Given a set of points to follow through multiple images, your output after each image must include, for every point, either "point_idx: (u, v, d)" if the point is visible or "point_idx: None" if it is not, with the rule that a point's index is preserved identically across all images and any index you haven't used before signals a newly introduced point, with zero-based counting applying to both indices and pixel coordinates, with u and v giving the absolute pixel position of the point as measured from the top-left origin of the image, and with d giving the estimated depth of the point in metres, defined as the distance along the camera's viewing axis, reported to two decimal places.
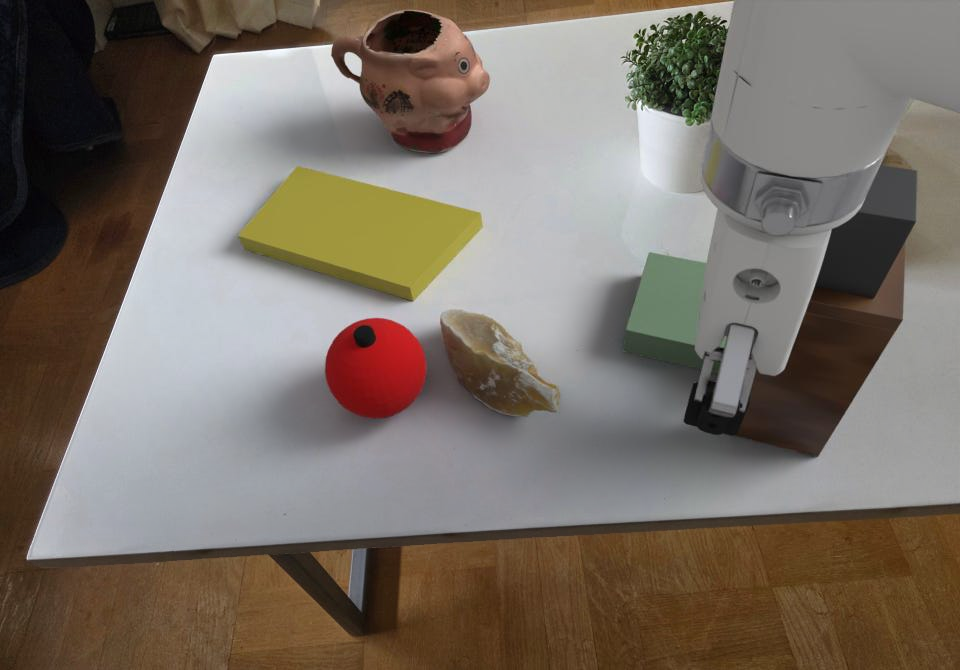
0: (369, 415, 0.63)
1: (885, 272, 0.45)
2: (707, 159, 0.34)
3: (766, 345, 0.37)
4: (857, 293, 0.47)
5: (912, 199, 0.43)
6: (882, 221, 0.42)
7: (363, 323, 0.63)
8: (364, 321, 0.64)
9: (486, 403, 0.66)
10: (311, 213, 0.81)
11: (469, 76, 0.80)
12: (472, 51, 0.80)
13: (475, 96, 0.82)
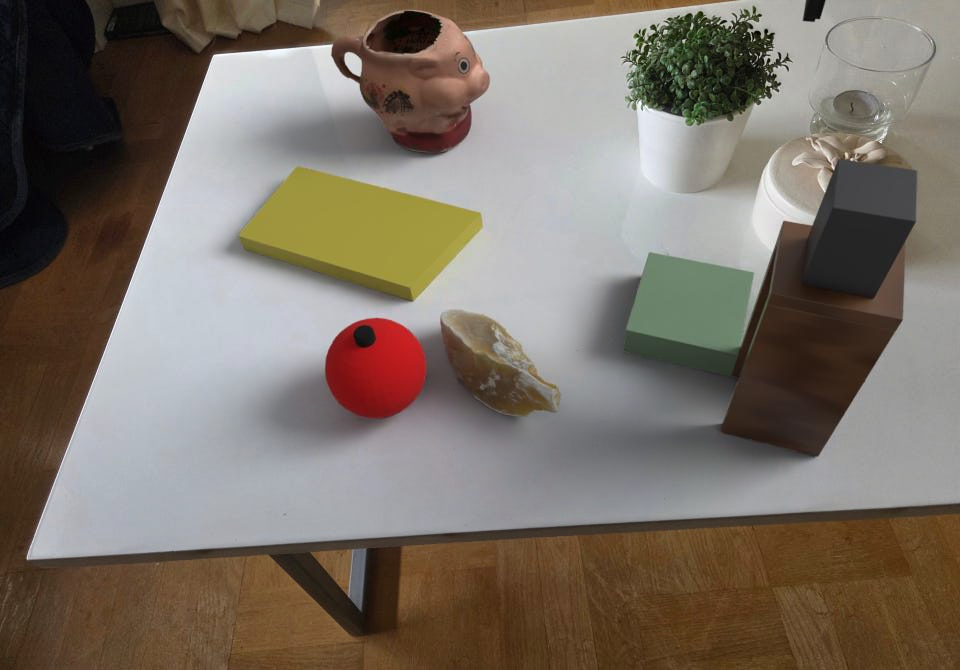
0: (369, 415, 0.63)
1: (885, 272, 0.45)
2: None
3: None
4: (857, 293, 0.47)
5: (912, 199, 0.43)
6: (882, 221, 0.42)
7: (363, 323, 0.63)
8: (364, 321, 0.64)
9: (486, 403, 0.66)
10: (311, 213, 0.81)
11: (469, 76, 0.80)
12: (472, 51, 0.80)
13: (475, 96, 0.82)
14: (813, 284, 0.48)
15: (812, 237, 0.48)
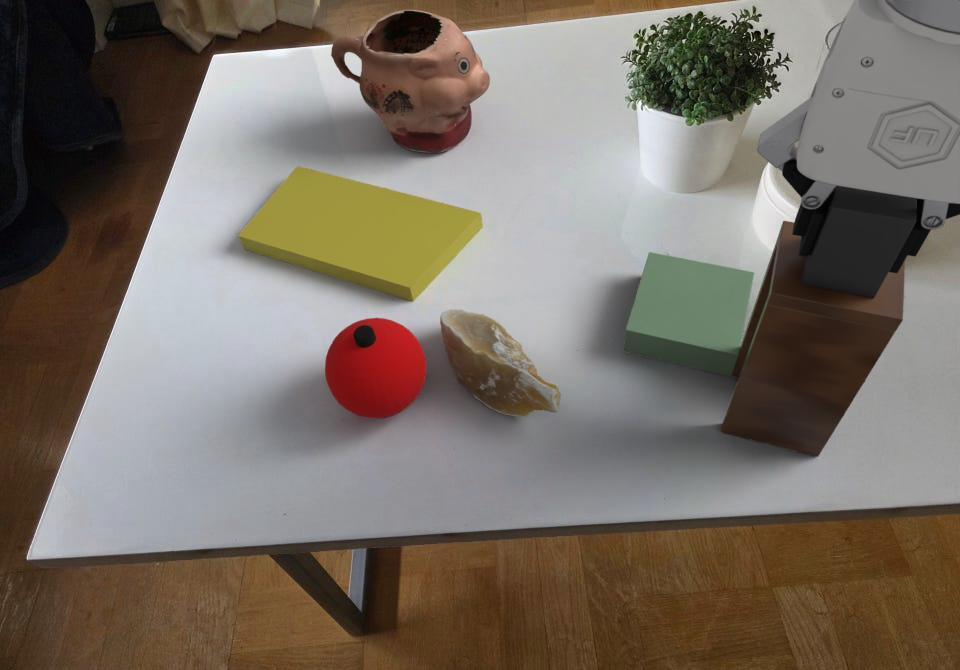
0: (369, 415, 0.63)
1: (885, 272, 0.45)
2: None
3: (807, 116, 0.40)
4: (857, 293, 0.47)
5: (912, 199, 0.43)
6: (882, 221, 0.42)
7: (363, 323, 0.63)
8: (364, 321, 0.64)
9: (486, 403, 0.66)
10: (311, 213, 0.81)
11: (469, 76, 0.80)
12: (472, 51, 0.80)
13: (475, 96, 0.82)
14: (813, 284, 0.48)
15: None
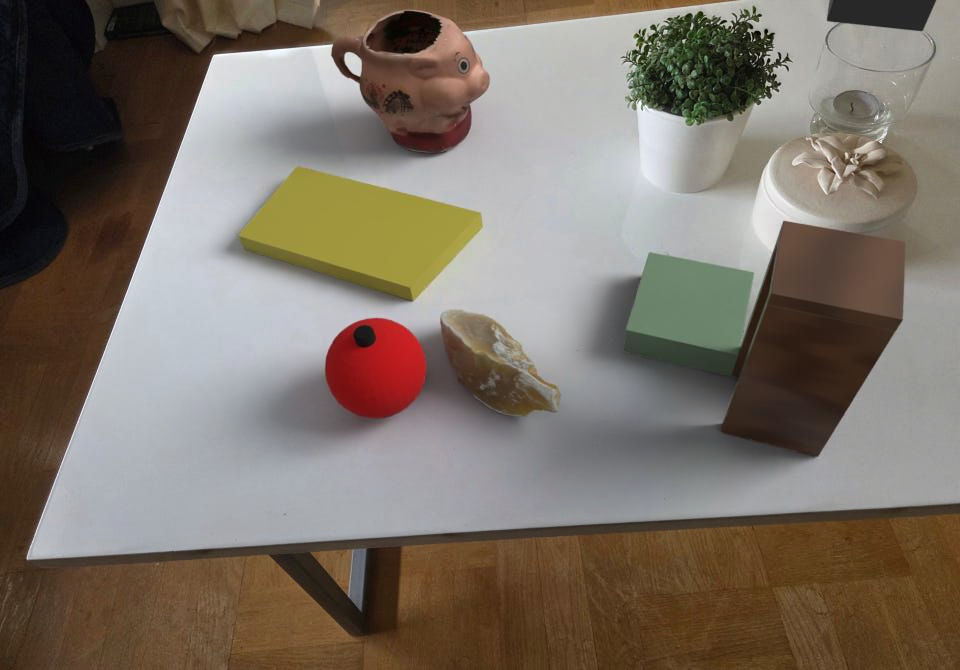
0: (369, 415, 0.63)
1: None
2: None
3: None
4: (900, 25, 0.36)
5: None
6: None
7: (363, 323, 0.63)
8: (364, 321, 0.64)
9: (486, 403, 0.66)
10: (311, 213, 0.81)
11: (469, 76, 0.80)
12: (472, 51, 0.80)
13: (475, 96, 0.82)
14: (842, 19, 0.37)
15: None
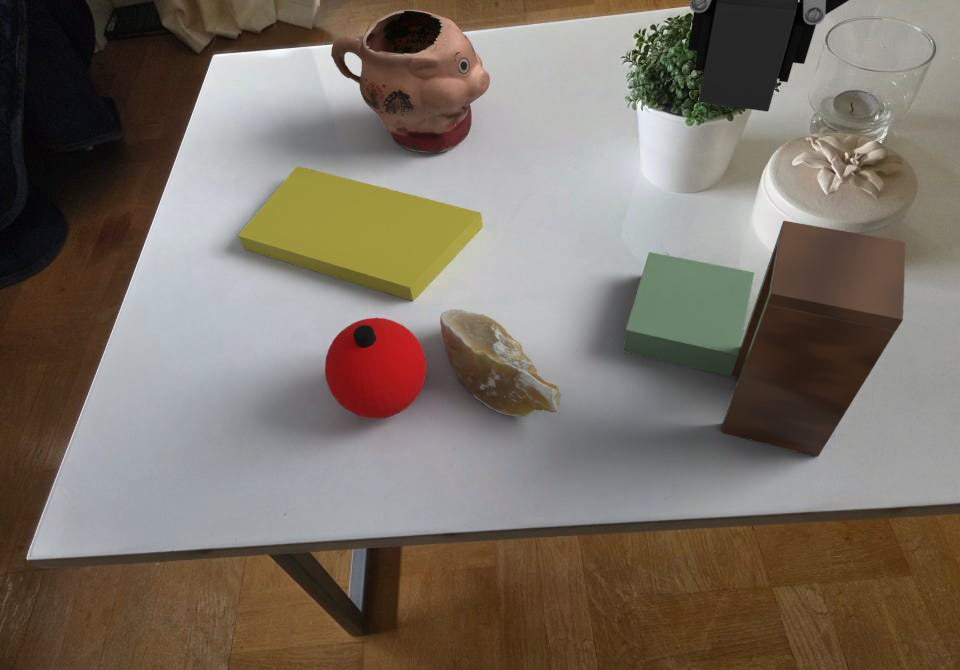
0: (369, 415, 0.63)
1: (774, 77, 0.46)
2: None
3: None
4: (751, 107, 0.48)
5: None
6: (764, 14, 0.43)
7: (363, 323, 0.63)
8: (364, 321, 0.64)
9: (486, 403, 0.66)
10: (311, 213, 0.81)
11: (469, 76, 0.80)
12: (472, 51, 0.80)
13: (475, 96, 0.82)
14: (709, 101, 0.49)
15: None
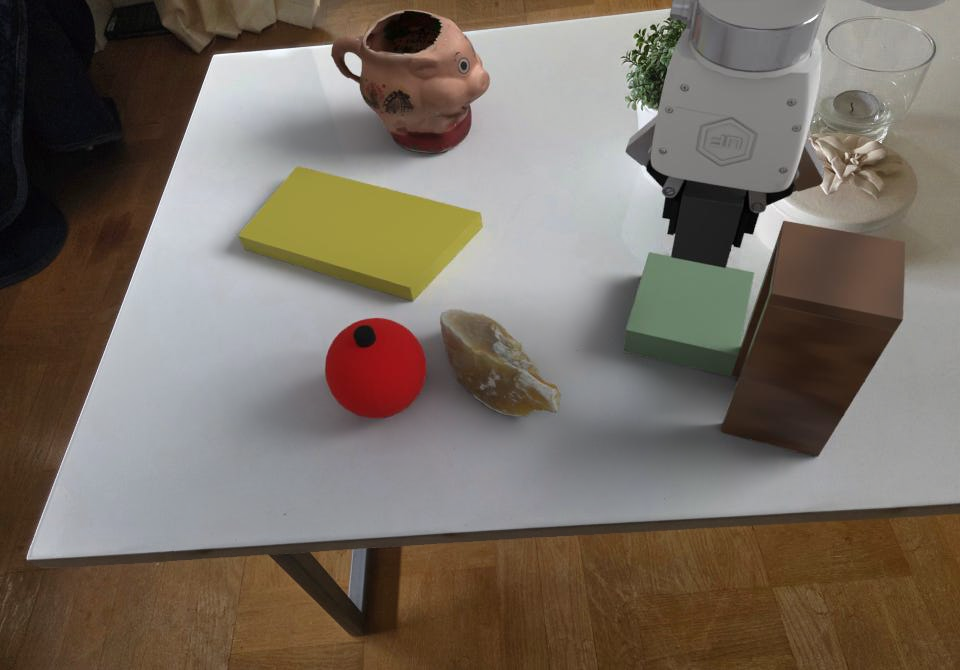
0: (369, 415, 0.63)
1: (729, 246, 0.58)
2: None
3: None
4: (712, 264, 0.60)
5: (743, 189, 0.55)
6: (719, 206, 0.55)
7: (363, 323, 0.63)
8: (364, 321, 0.64)
9: (486, 403, 0.66)
10: (311, 213, 0.81)
11: (469, 76, 0.80)
12: (472, 51, 0.80)
13: (475, 96, 0.82)
14: (679, 257, 0.61)
15: None
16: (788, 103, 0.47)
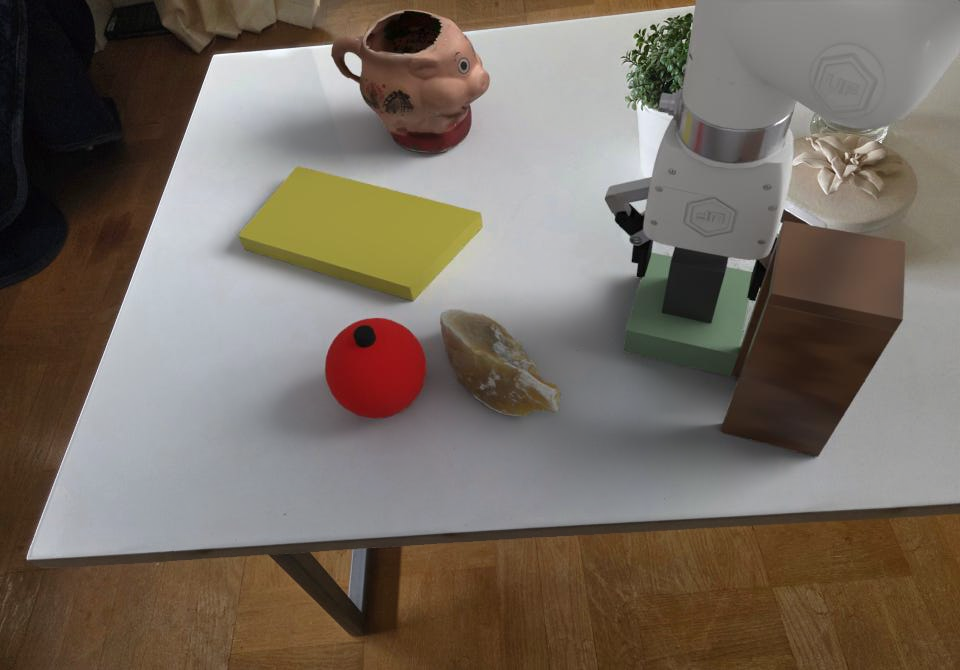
0: (369, 415, 0.63)
1: (714, 305, 0.64)
2: None
3: None
4: (699, 319, 0.66)
5: (725, 257, 0.61)
6: (704, 271, 0.61)
7: (363, 323, 0.63)
8: (364, 321, 0.64)
9: (486, 403, 0.66)
10: (311, 213, 0.81)
11: (469, 76, 0.80)
12: (472, 51, 0.80)
13: (475, 96, 0.82)
14: (669, 313, 0.67)
15: None
16: (764, 187, 0.52)
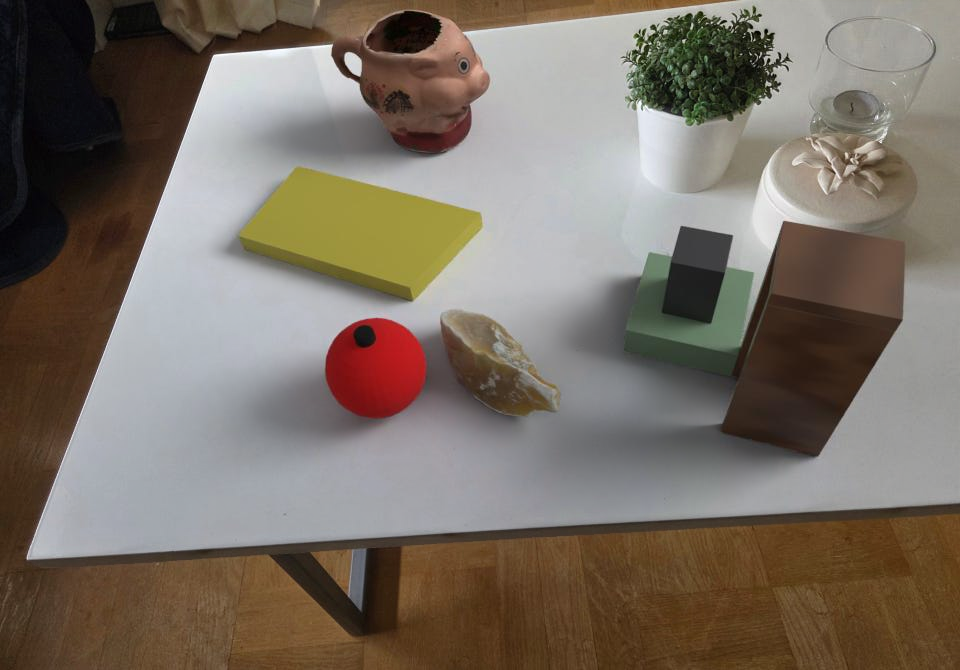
0: (369, 415, 0.63)
1: (714, 305, 0.64)
2: None
3: None
4: (699, 319, 0.66)
5: (725, 257, 0.61)
6: (704, 271, 0.61)
7: (363, 323, 0.63)
8: (364, 321, 0.64)
9: (486, 403, 0.66)
10: (311, 213, 0.81)
11: (469, 76, 0.80)
12: (472, 51, 0.80)
13: (475, 96, 0.82)
14: (669, 313, 0.67)
15: None
16: None
